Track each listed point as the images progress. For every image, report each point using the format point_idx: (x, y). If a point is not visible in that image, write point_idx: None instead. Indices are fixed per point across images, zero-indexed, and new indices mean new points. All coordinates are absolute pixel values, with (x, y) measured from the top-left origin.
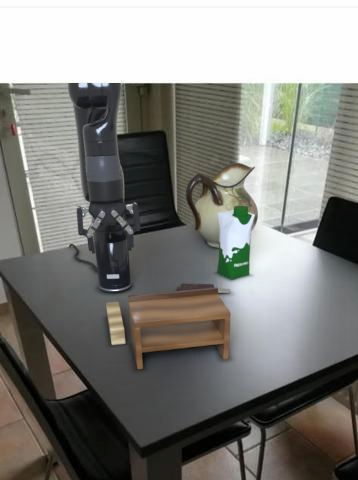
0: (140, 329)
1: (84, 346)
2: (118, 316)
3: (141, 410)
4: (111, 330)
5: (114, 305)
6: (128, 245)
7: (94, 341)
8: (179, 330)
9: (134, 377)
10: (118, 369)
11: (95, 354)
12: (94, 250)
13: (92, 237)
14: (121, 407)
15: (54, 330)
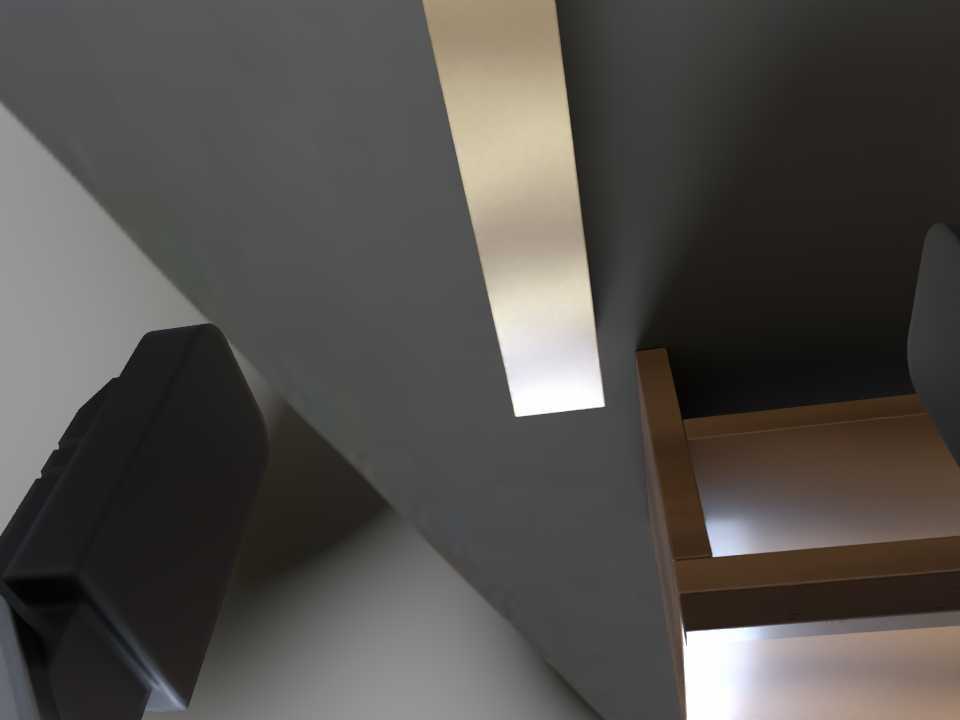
0: (711, 483)
1: (356, 348)
2: (562, 257)
3: (646, 677)
4: (523, 411)
5: (513, 46)
6: (951, 447)
7: (402, 302)
8: (945, 503)
9: (633, 560)
10: (564, 518)
11: (437, 417)
12: (254, 488)
13: (152, 688)
14: (582, 666)
15: (71, 151)
